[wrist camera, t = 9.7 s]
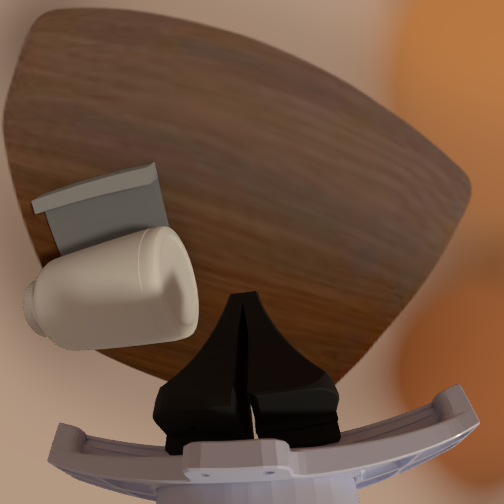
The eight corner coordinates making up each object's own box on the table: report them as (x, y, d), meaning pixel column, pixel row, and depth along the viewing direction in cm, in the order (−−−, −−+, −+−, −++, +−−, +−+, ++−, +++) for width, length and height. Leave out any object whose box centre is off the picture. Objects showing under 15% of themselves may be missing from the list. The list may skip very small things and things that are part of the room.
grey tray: (190, 302, 25) (187, 316, 23) (90, 309, 25) (83, 322, 23) (154, 161, 19) (146, 167, 17) (43, 193, 19) (31, 201, 17)
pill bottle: (199, 265, 24) (73, 293, 25) (161, 199, 18) (24, 249, 19) (204, 353, 19) (63, 363, 20) (151, 307, 13) (1, 329, 14)
